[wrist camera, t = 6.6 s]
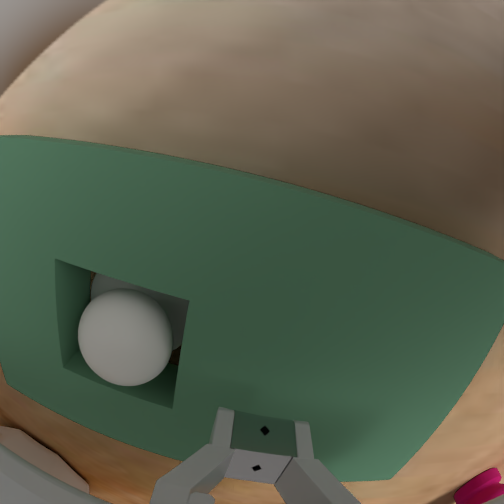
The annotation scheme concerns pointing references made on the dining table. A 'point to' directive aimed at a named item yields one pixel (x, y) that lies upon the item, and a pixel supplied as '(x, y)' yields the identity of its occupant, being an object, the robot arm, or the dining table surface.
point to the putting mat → (238, 303)
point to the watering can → (40, 457)
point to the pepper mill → (481, 488)
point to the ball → (125, 337)
